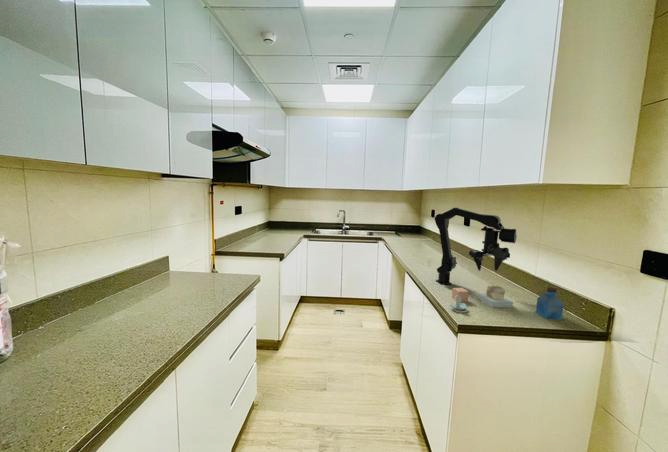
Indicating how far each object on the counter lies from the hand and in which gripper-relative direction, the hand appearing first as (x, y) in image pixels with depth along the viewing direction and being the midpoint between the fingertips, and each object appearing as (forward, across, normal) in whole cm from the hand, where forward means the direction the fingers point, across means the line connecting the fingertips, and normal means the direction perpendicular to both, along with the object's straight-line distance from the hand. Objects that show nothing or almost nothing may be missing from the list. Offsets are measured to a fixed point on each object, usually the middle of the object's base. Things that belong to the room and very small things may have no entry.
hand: (487, 270), depth 136 cm
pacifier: (+12, -26, -19) cm, 35 cm away
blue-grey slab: (+13, -4, -12) cm, 18 cm away
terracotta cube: (+12, -19, -8) cm, 24 cm away
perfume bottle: (+12, +10, -26) cm, 30 cm away
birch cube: (+10, -4, -12) cm, 16 cm away
